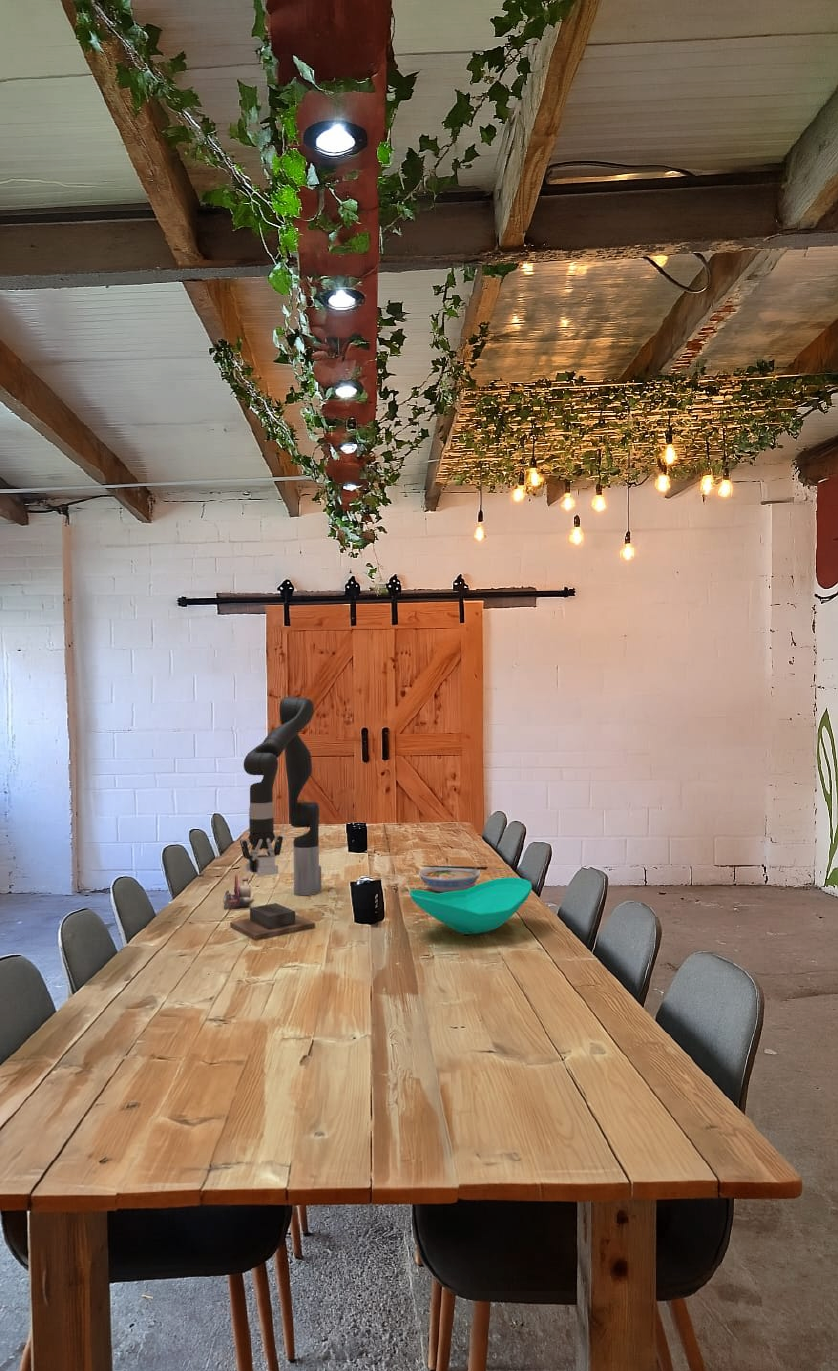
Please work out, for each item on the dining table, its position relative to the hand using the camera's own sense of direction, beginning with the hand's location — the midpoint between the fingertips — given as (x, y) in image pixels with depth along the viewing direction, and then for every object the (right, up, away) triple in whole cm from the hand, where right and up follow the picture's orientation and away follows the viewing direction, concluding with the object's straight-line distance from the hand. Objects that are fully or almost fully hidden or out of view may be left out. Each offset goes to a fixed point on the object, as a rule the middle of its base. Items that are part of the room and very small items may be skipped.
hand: (262, 870), depth 243 cm
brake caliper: (-13, -18, +24) cm, 33 cm away
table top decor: (+65, -17, -8) cm, 68 cm away
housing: (0, 0, 0) cm, 0 cm away
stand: (+4, -17, -1) cm, 18 cm away
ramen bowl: (+60, -18, +40) cm, 75 cm away
